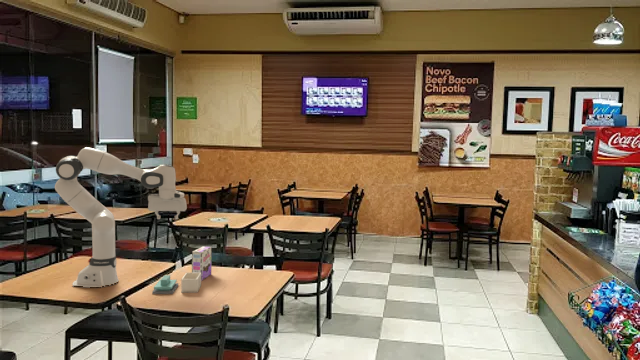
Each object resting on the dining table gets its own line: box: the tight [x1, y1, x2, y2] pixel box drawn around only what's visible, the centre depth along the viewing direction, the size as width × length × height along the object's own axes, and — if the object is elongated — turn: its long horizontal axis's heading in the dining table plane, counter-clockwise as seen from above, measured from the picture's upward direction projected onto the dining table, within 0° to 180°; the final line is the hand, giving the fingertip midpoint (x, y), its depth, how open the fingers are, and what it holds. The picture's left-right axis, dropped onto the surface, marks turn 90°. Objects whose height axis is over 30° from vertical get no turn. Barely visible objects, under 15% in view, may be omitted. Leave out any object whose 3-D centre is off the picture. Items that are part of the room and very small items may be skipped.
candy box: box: [191, 246, 212, 282], centre depth 272 cm, size 14×6×16 cm, turn 168°
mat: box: [151, 282, 179, 295], centre depth 249 cm, size 10×14×1 cm
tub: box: [180, 272, 202, 294], centre depth 251 cm, size 8×12×7 cm, turn 5°
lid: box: [153, 274, 178, 291], centre depth 249 cm, size 9×13×5 cm
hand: (167, 218), depth 264 cm, fingers open, 8 cm apart
